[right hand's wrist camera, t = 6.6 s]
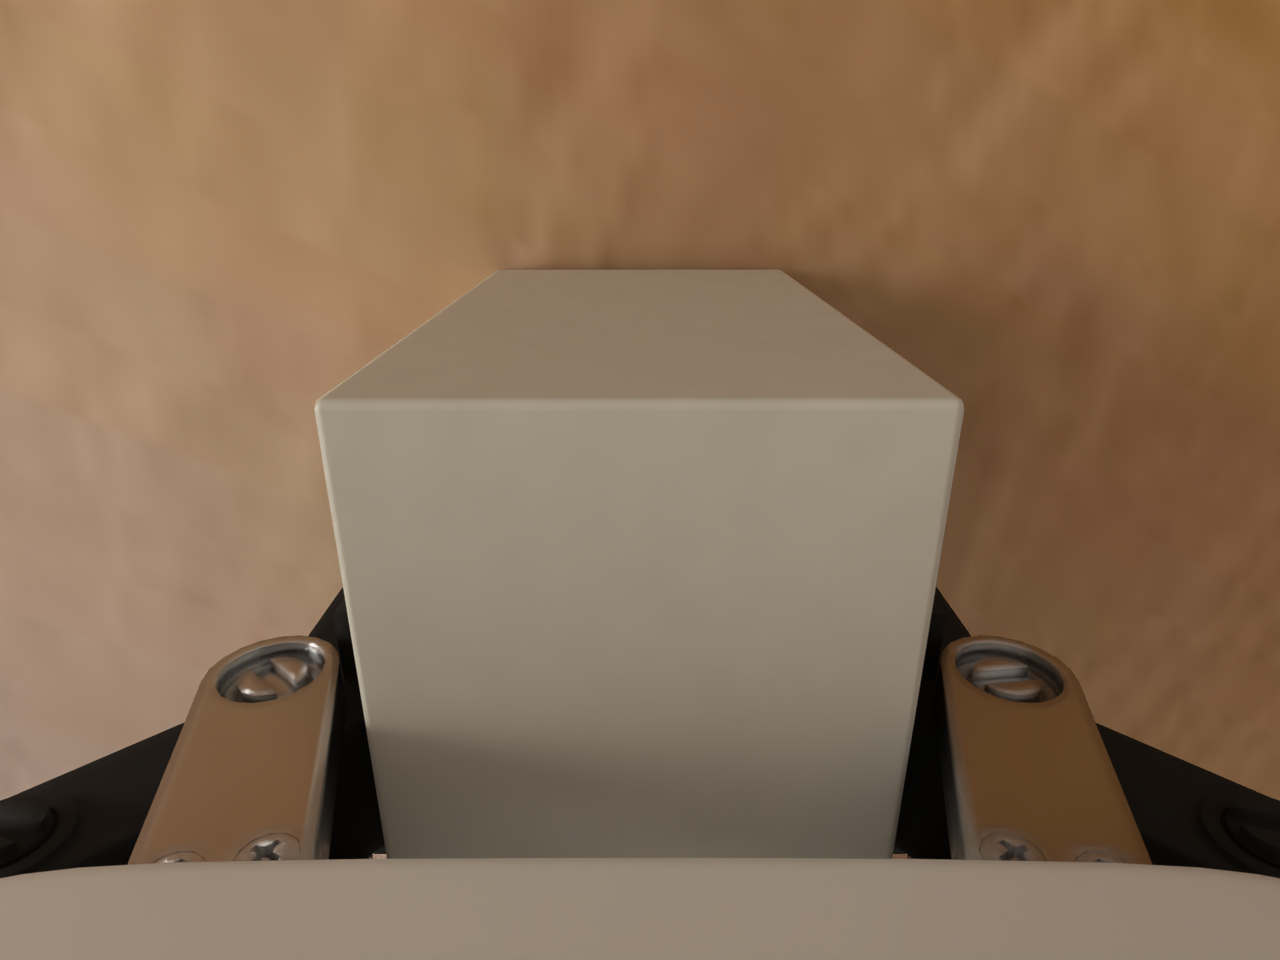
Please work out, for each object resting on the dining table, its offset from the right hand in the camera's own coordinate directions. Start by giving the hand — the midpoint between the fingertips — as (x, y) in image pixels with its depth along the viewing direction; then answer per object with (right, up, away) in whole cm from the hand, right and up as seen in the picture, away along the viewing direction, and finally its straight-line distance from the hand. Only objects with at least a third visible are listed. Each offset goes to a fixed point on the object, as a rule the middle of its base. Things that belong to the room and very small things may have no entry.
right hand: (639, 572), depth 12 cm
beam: (0, -20, +11) cm, 23 cm away
